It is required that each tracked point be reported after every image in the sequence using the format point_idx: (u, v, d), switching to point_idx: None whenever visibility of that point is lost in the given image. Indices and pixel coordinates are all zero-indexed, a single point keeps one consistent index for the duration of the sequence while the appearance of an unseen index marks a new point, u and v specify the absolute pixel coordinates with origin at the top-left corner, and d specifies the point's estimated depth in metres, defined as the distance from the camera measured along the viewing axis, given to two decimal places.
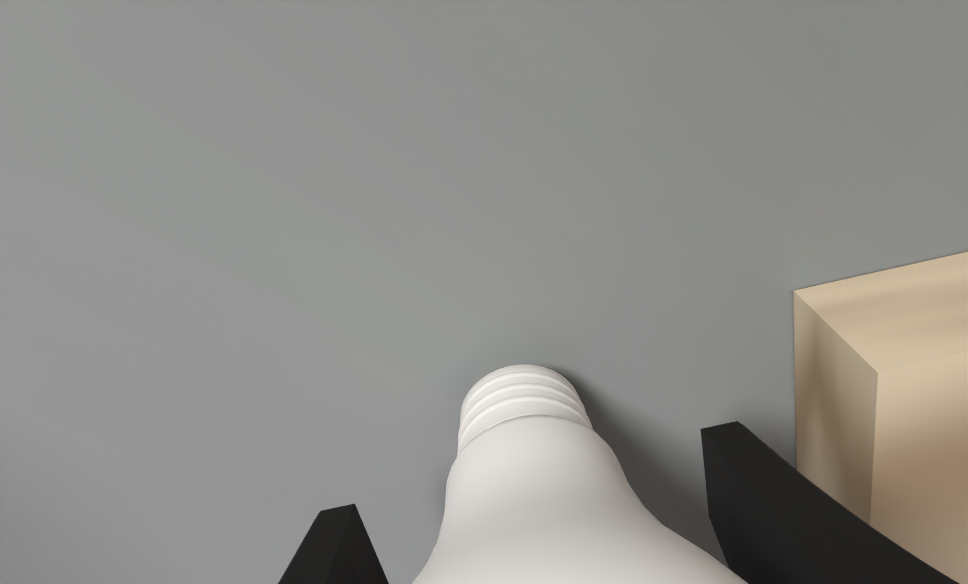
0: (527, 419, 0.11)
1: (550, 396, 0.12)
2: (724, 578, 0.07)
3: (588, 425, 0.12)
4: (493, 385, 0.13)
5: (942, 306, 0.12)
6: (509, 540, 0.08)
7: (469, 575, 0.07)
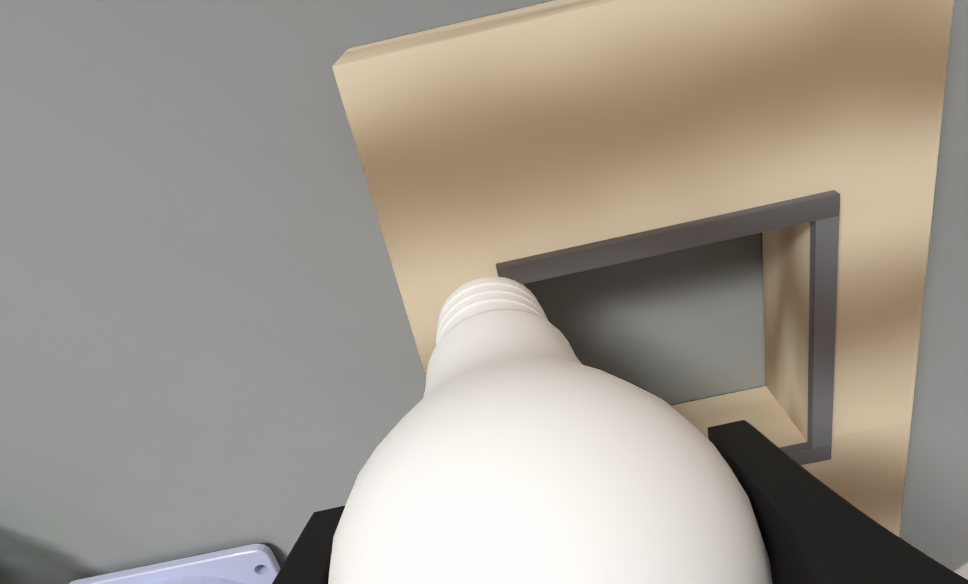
0: (486, 313, 0.13)
1: (508, 298, 0.15)
2: (625, 384, 0.09)
3: None
4: (460, 295, 0.15)
5: (419, 39, 0.16)
6: (461, 380, 0.10)
7: (429, 402, 0.10)
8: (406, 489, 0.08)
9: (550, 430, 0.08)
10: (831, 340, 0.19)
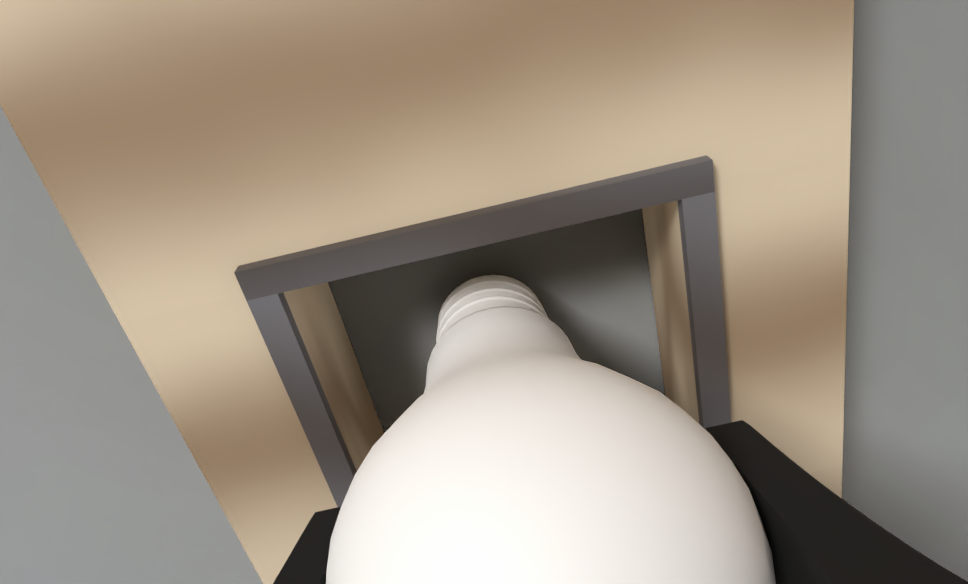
0: (484, 311, 0.13)
1: (507, 295, 0.14)
2: (620, 376, 0.09)
3: (542, 315, 0.14)
4: (459, 295, 0.15)
5: None
6: (456, 377, 0.10)
7: (423, 400, 0.09)
8: (399, 488, 0.08)
9: (543, 423, 0.08)
10: (721, 363, 0.14)
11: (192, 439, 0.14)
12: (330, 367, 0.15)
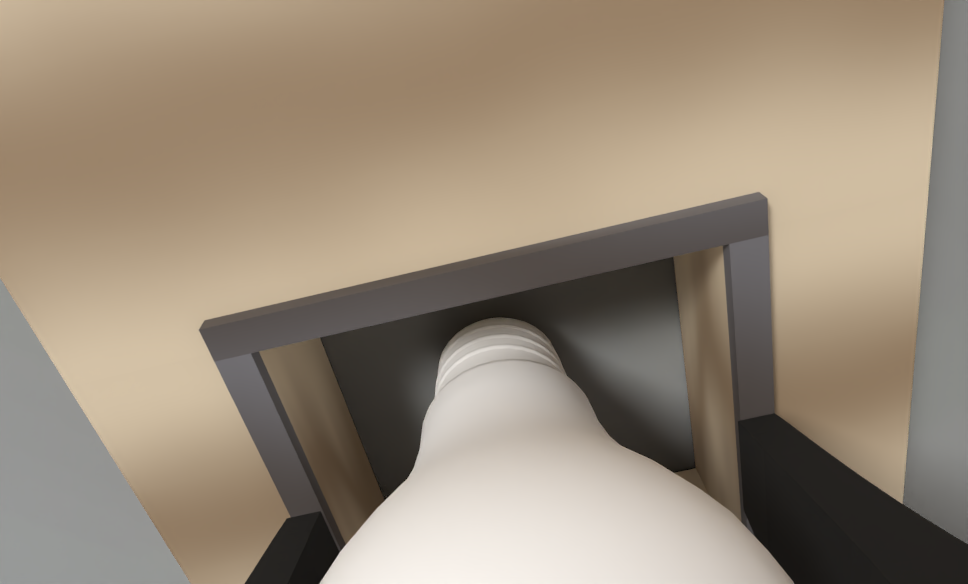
0: (488, 364, 0.12)
1: (515, 343, 0.13)
2: (651, 472, 0.07)
3: (557, 367, 0.12)
4: (462, 341, 0.13)
5: None
6: (446, 464, 0.08)
7: (404, 497, 0.08)
8: None
9: (551, 551, 0.06)
10: None
11: (156, 512, 0.12)
12: (316, 427, 0.13)
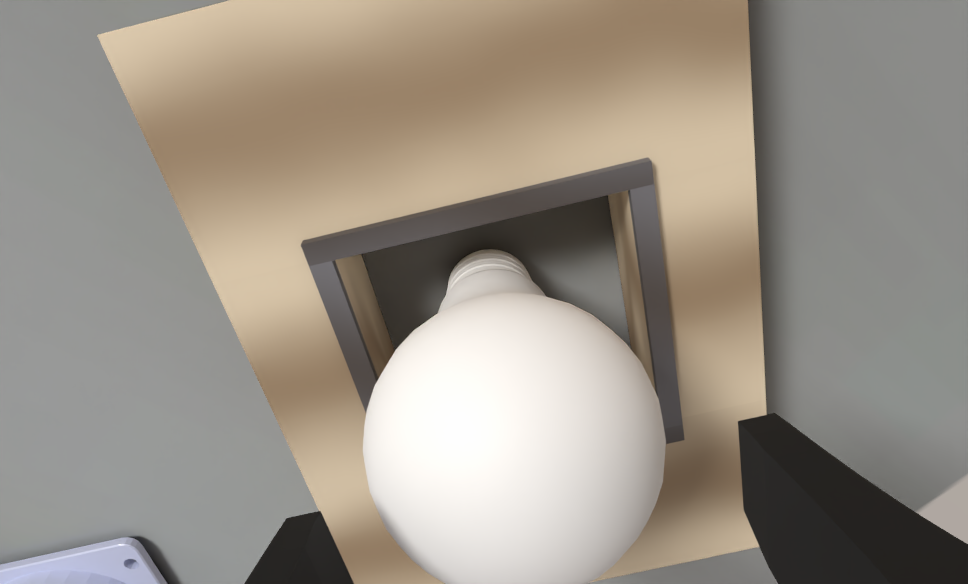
0: (480, 272, 0.18)
1: (499, 263, 0.19)
2: (564, 303, 0.14)
3: None
4: (464, 264, 0.19)
5: None
6: (453, 305, 0.14)
7: (430, 318, 0.14)
8: (412, 363, 0.12)
9: (504, 322, 0.12)
10: (665, 315, 0.18)
11: (262, 375, 0.19)
12: (366, 321, 0.19)
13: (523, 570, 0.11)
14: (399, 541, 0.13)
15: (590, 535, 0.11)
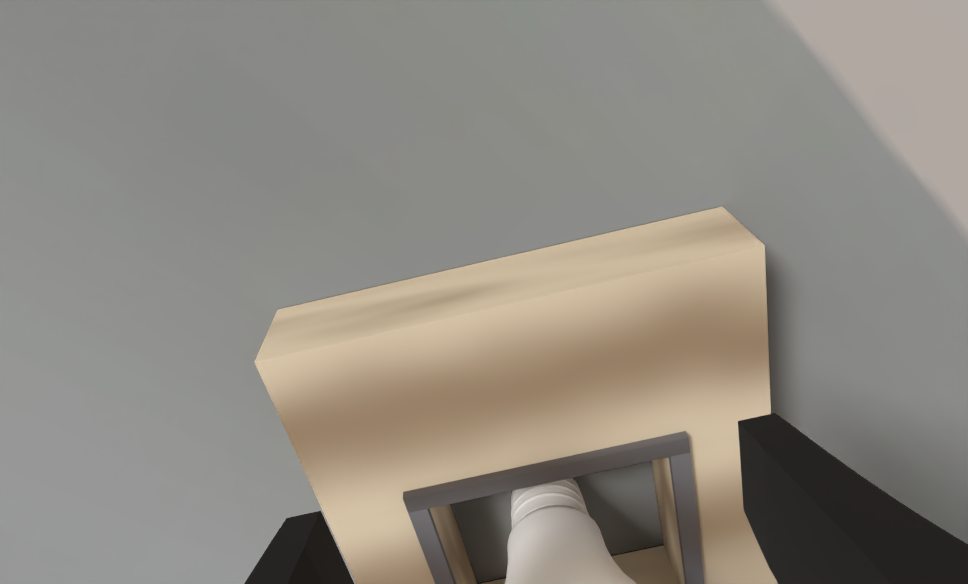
0: (545, 510, 0.22)
1: (557, 491, 0.23)
2: None
3: (580, 505, 0.23)
4: None
5: (331, 320, 0.20)
6: (536, 582, 0.18)
7: None
8: None
9: None
10: (696, 540, 0.22)
11: None
12: (446, 535, 0.23)
13: None
14: None
15: None
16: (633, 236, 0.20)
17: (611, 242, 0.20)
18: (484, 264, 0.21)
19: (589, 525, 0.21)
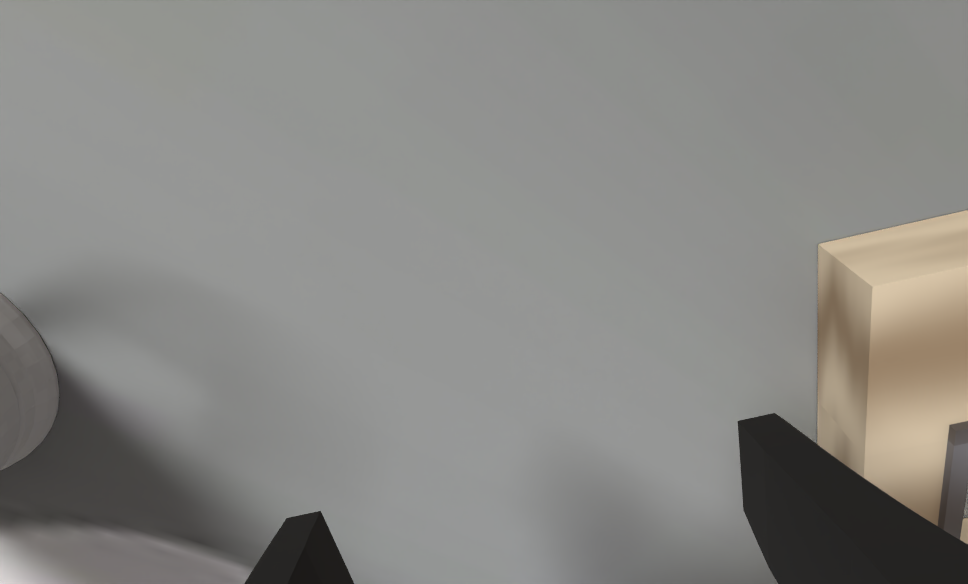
0: None
1: None
2: None
3: None
4: None
5: (913, 250, 0.20)
6: None
7: None
8: None
9: None
10: None
11: None
12: None
13: None
14: None
15: None
16: None
17: None
18: None
19: None
